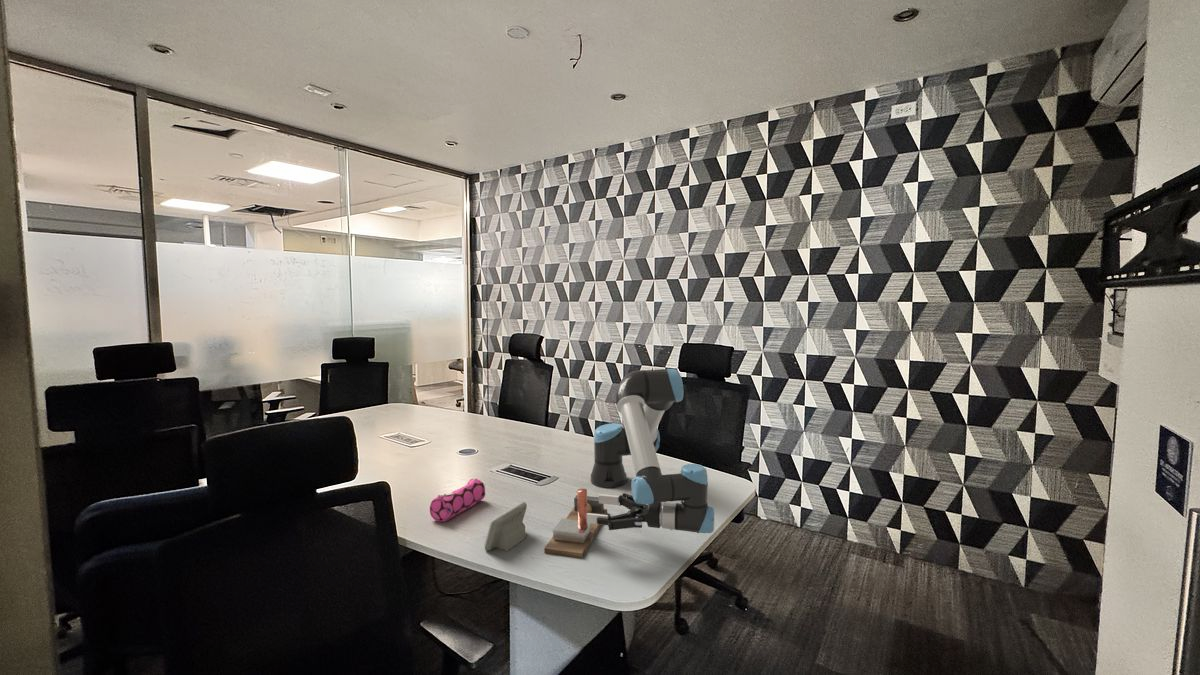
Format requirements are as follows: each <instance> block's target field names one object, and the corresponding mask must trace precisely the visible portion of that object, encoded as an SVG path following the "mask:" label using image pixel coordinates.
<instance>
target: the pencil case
mask: <svg viewBox="0 0 1200 675" xmlns="http://www.w3.org/2000/svg"><path fill="white" fill-rule="evenodd" d="M485 497H486V485H485V484H484V482H483V481H482V480H481V479H479V478H472V479H470V480H468V481H467V484H466V485H464V486H462V487H460V488H458V489H455V490H453V491H452V492H450V493H447V494H446V493H444V494H438V496H436V497H435V498H433V499H432V500H431V502H430V505H429V514H430V517H431V518H432V519H433V520H435V521H436V522H438V523H444V522H447V521H449V520H450V519H452V518H454V517H455V516H457V515H459V514H461V513H462V512H464V511H466V510H468V509H471V508H472V507H473V506H474V505H476V504H478V503H479V502H480V501H483V499H484V498H485Z"/></svg>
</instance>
